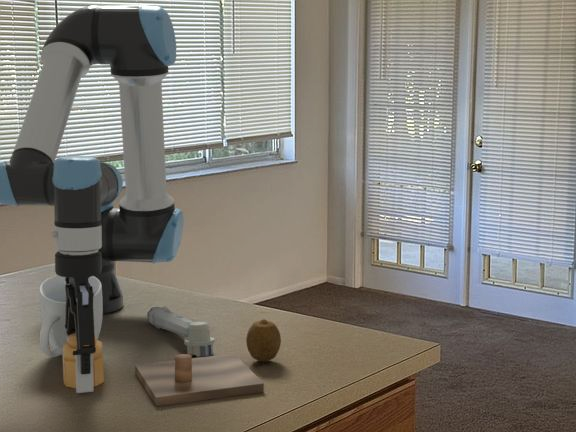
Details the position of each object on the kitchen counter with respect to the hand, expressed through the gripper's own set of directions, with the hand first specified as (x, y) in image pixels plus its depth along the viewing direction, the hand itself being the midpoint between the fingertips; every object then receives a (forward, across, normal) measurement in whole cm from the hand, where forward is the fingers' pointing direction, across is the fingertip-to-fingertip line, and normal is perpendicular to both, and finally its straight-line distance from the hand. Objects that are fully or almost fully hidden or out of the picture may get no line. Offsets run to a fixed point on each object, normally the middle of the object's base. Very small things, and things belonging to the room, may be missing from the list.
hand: (80, 382), depth 150 cm
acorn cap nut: (0, -1, +1) cm, 1 cm away
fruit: (0, 0, +33) cm, 33 cm away
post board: (0, +6, +19) cm, 20 cm away
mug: (-1, -16, +1) cm, 16 cm away
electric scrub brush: (0, -18, +22) cm, 28 cm away
